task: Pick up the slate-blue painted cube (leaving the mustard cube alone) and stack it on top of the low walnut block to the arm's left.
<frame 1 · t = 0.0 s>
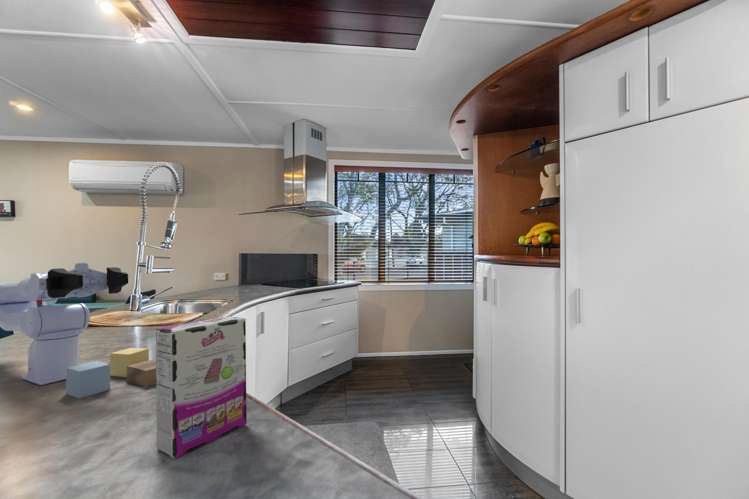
hand: (104, 279, 67), 22 cm above the countertop, tool horizontal, fingers open, 7 cm apart
walnut block: (153, 380, 74), on the countertop
blue cube: (88, 392, 67), on the countertop
candy bar box: (203, 438, 50), on the countertop
mustard cube: (129, 373, 78), on the countertop
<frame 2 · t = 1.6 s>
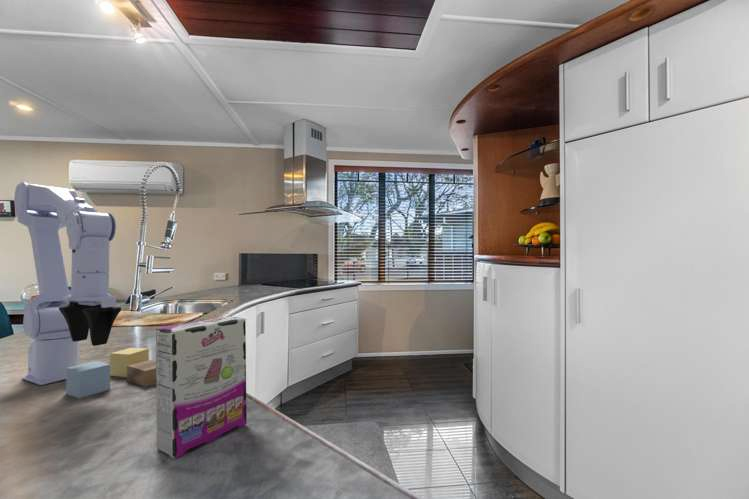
hand: (89, 342, 67), 9 cm above the countertop, tool pointing down, fingers open, 7 cm apart
nothing on the countertop moved.
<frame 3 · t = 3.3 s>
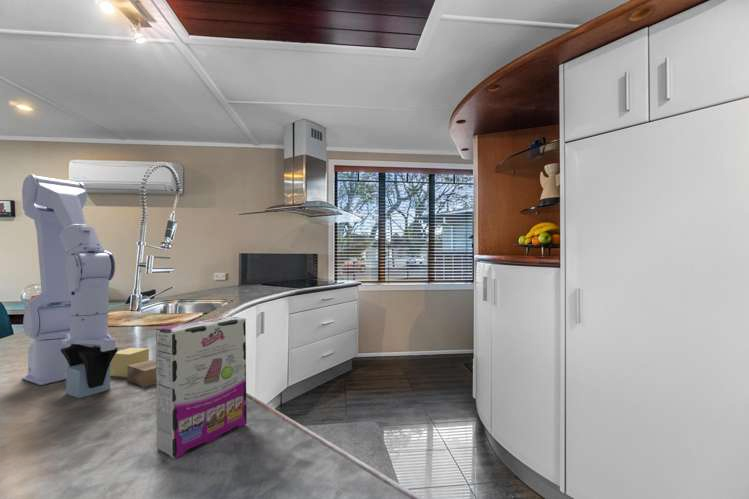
hand: (88, 384, 67), 1 cm above the countertop, tool pointing down, fingers closed on blue cube, 5 cm apart
blue cube: (88, 391, 67), on the countertop, touching gripper
everything else where it was.
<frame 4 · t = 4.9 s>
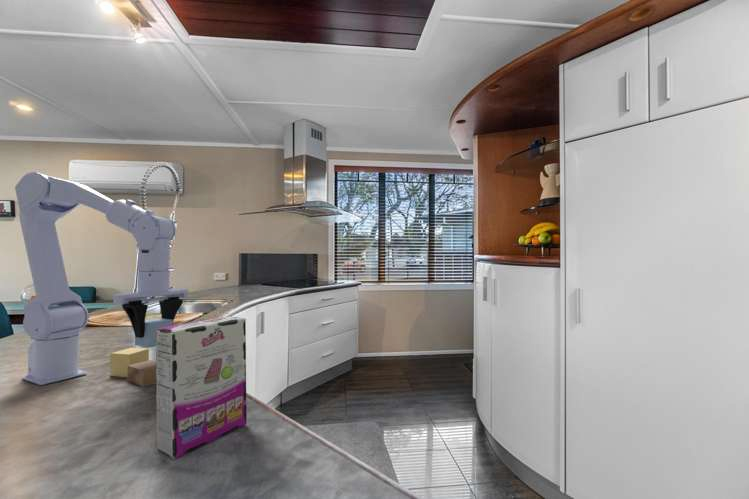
hand: (153, 334, 74), 9 cm above the countertop, tool pointing down, fingers closed on blue cube, 5 cm apart
blue cube: (154, 343, 74), point 7 cm above the countertop, touching gripper
everything else where it was.
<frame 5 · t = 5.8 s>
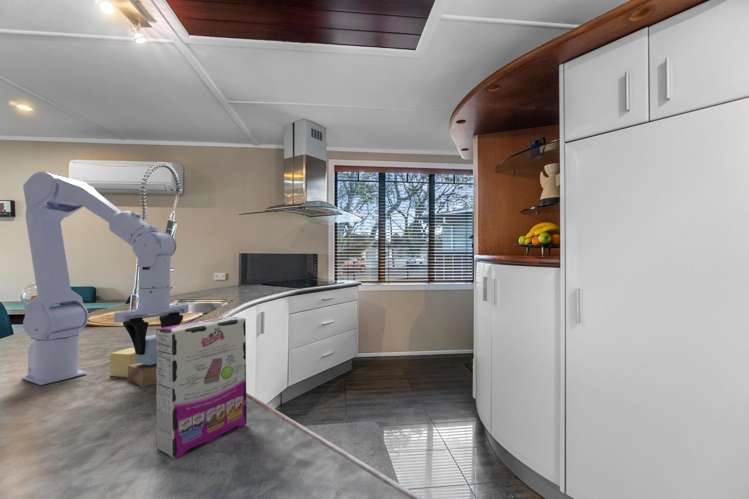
hand: (153, 350, 74), 6 cm above the countertop, tool pointing down, fingers closed on blue cube, 5 cm apart
blue cube: (154, 360, 74), point 4 cm above the countertop, touching gripper
everything else where it was.
when the fingers open (6 cm above the countertop, at t = 6.5 s): blue cube stays where it is, resting on walnut block.
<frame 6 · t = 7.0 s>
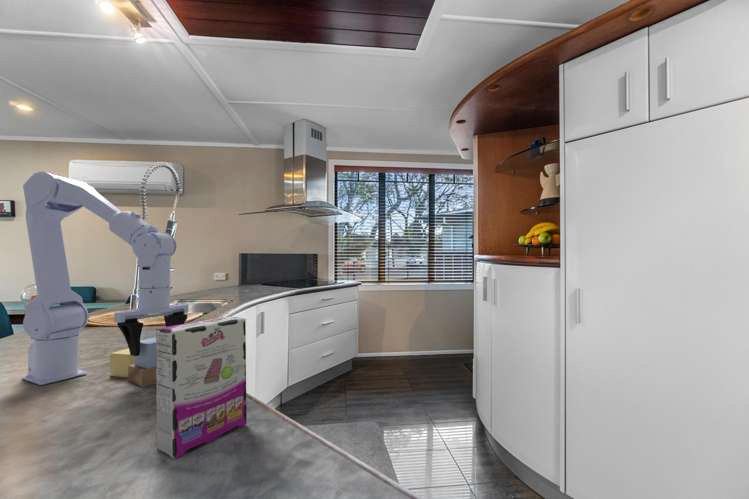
hand: (153, 350, 74), 6 cm above the countertop, tool pointing down, fingers open, 7 cm apart
walnut block: (153, 380, 74), on the countertop, touching blue cube
blue cube: (153, 363, 74), point 3 cm above the countertop, touching walnut block
everything else where it was.
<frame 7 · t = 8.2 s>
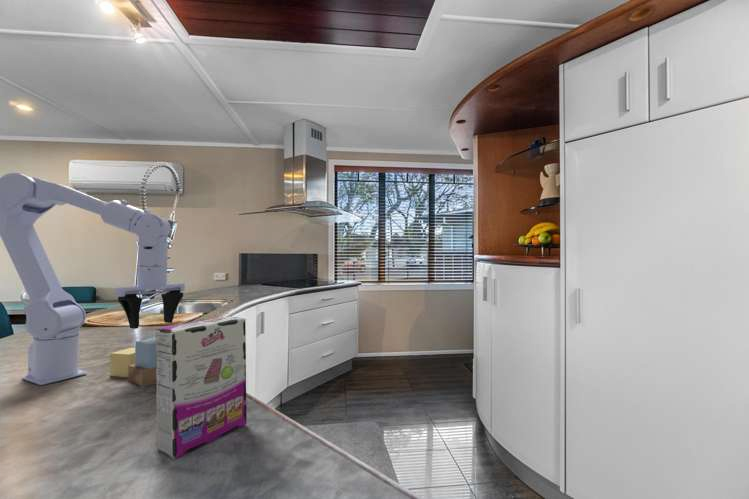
hand: (151, 325, 80), 10 cm above the countertop, tool pointing down, fingers open, 7 cm apart
walnut block: (153, 380, 74), on the countertop
blue cube: (154, 363, 74), point 3 cm above the countertop
everything else where it was.
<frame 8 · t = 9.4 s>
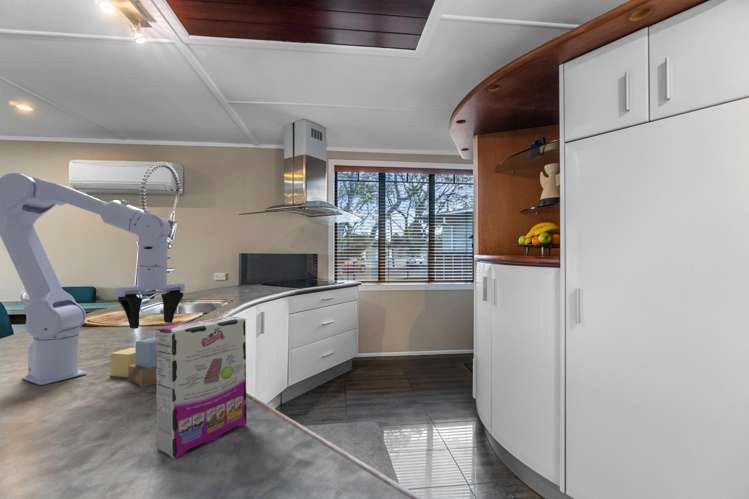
hand: (151, 325, 80), 10 cm above the countertop, tool pointing down, fingers open, 7 cm apart
nothing on the countertop moved.
at the end: blue cube 0.2 cm off-centre on the walnut block, point 3.5 cm above the walnut block's base; blue cube tilted 0°; the gripper is holding nothing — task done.
